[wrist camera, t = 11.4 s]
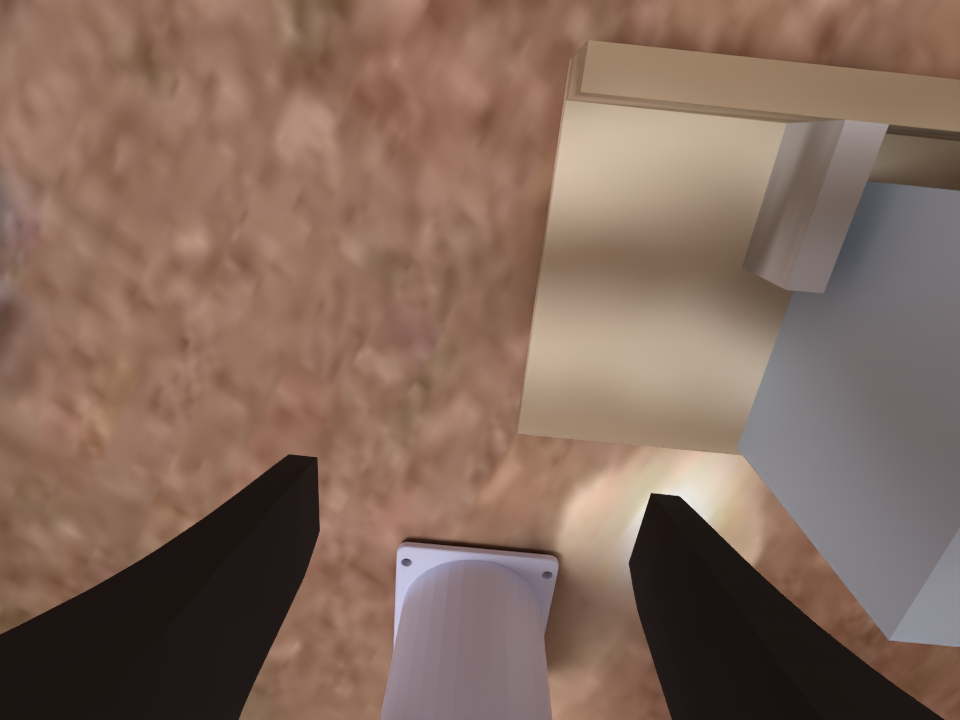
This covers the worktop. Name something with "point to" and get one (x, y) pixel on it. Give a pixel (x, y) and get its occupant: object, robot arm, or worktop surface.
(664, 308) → the book rack
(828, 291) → the book
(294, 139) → the worktop surface
